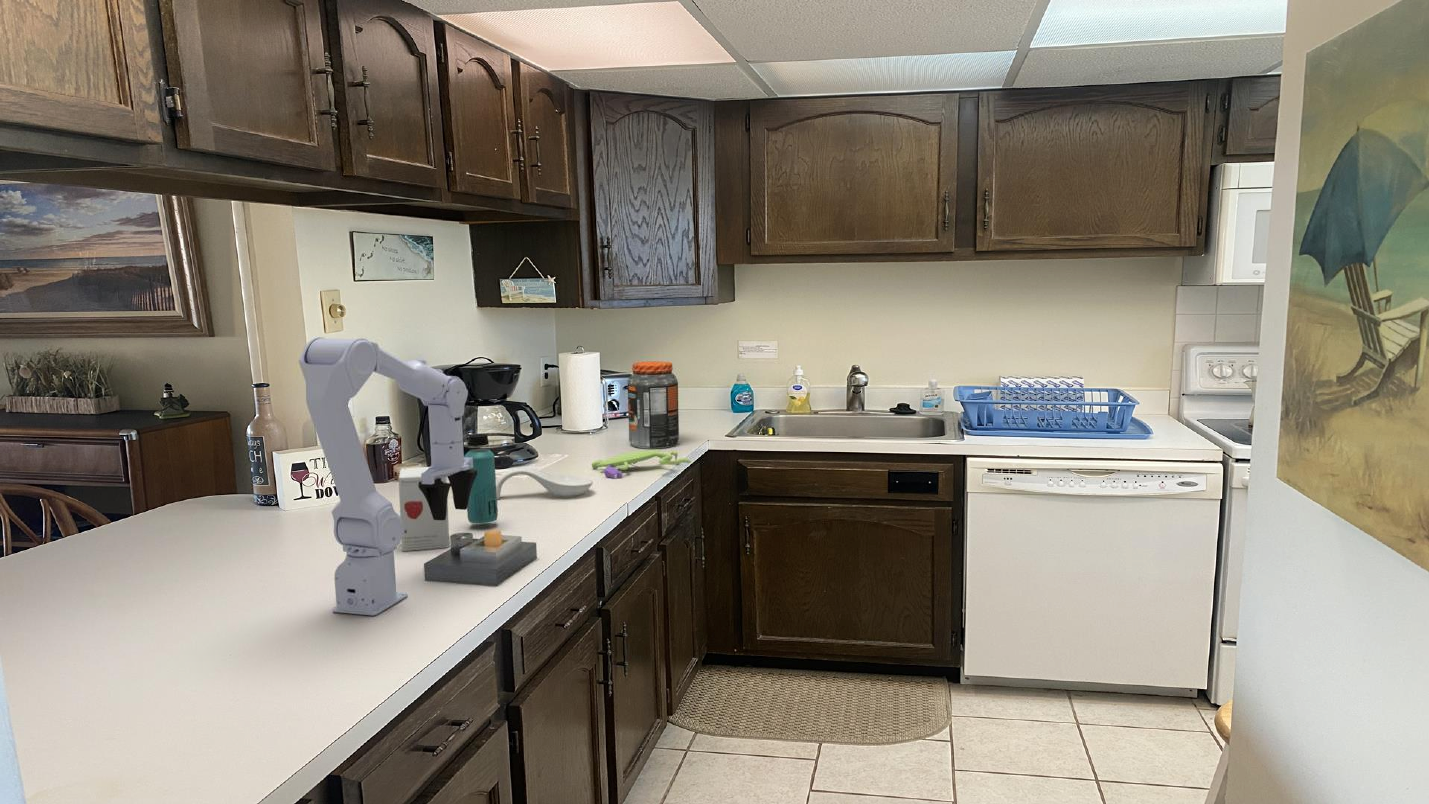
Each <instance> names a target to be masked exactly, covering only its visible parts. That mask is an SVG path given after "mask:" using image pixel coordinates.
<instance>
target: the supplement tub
mask: <svg viewBox="0 0 1429 804" xmlns="http://www.w3.org/2000/svg"><path fill="white" fill-rule="evenodd" d="M673 370H674V367H673V363H672V362H669V361H638V362H634V363H632V370H631V371H632V374H631V375H630V376H629V378H628V380H627V406H628V440H629V443H630V445H632V446H633V447H635V448H638V449H644V450H645V449H646V450H657V449H664V448H670V447H674V446H676V445H678V443H679V440H680V430H679V429H680V427H679V426H680V425H679V424H680V421H679V419H680V418H679V416H680V415H679V381H678V379H677V376H676V375H675V374H674V373H673Z"/></svg>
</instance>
